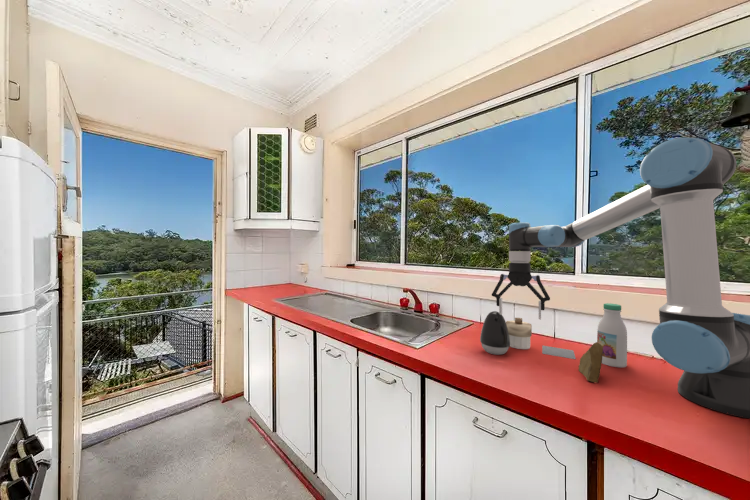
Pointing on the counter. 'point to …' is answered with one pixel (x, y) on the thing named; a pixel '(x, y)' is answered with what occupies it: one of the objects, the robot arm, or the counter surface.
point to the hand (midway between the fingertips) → (519, 316)
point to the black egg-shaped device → (495, 334)
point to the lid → (519, 328)
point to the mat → (558, 352)
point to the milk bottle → (613, 336)
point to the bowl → (519, 342)
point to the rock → (592, 362)
